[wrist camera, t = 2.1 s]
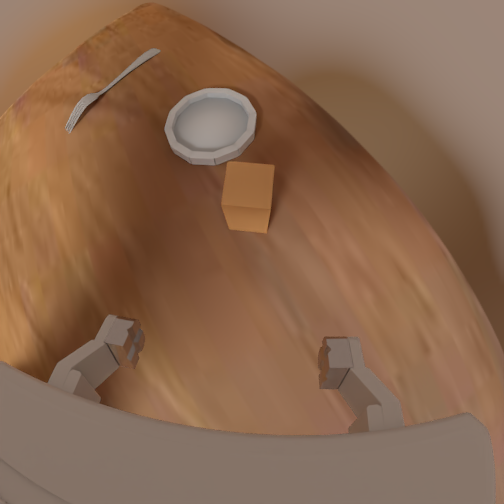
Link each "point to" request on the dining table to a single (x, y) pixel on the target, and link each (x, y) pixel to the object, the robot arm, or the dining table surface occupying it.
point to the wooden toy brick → (247, 196)
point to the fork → (93, 96)
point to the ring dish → (211, 126)
